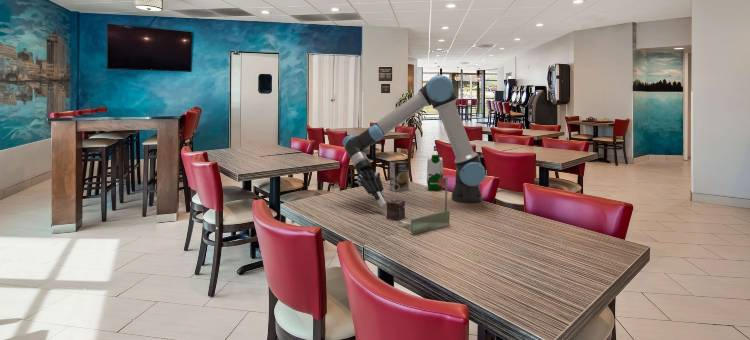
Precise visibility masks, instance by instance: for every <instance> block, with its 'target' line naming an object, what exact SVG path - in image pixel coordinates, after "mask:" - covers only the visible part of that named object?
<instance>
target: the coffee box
mask: <svg viewBox="0 0 750 340" xmlns="http://www.w3.org/2000/svg"><path fill="white" fill-rule="evenodd" d="M409 179H410V162H409V161H405V160H399V161H390V162H389V190H390V191H392V192H395V193H396V192H397V193H398V192H404V191H405V192H406V191H409V189H410V187H409V184H410V183H409V181H410V180H409Z"/></svg>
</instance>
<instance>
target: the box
mask: <svg viewBox="0 0 750 340" xmlns="http://www.w3.org/2000/svg"><path fill="white" fill-rule="evenodd" d="M405 217H406V200H400V199H391V200H388V201H387V202H386V219H390V220H397V221H400V220H402V219H404V218H405Z"/></svg>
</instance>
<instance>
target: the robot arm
mask: <svg viewBox="0 0 750 340" xmlns="http://www.w3.org/2000/svg"><path fill="white" fill-rule="evenodd" d="M417 91H418V92H417V93H416V94H415V95H413V96H412V97H410V98H409V99H408V100H406V101H405V102H403V103H402V104H400V105H399V106H398V107H396V108H394V109H393V110H392V111H391V112H389V113H388V114H386V115H385V116H384V117H382V118H380V119H379V120H378V121H376V122H375V123H374V124H372V125H371V126H369V127H368V128H366V129H365V130H363V131H362V132H361V133H360V134H358V135H355V134H349V135H347V136H345V137H344V138H343V140H342V145H343V147H344V150H345V152H346V153H347V155H348V157H349V159H350V161H351V163H352V165H353V167H354V169H355V171H356V173H357V174H358V175H357V177H356V178H355V179H356V181H358V182H359V183H360V185H361V186H362V187H363V189H364V190H365V191H366V192H367V194H368V195H371V196H372V197H374V199H375V201H376V202H378V205H379V206H380V207H381V208H382V207H384V206H385V205H387V202H386V200H385V198H384V195H383V193H382V192H383V191H384V186H383V183H382V179H381V173H380V172H378V173H377V172H375V170H374V169H373V166H372V164H371V161H370V160H369V158H368V157H367V154H366V152H365V150H367V149H368V148H369V147H371V146H372V145H374V144H376V143H377V142H379V141H380V140H381V139H383V138H384V136H385V135H386V134H388V133H389V132H391V131H392V130H394V129H395V128H397V127H399V126H400V125H401V124H403V123H404V122H405V121H407V120H408V119H410V118H411V117H412V116H414V115H415V114H417V113H418V112H420V111H421V110H423V109H424V108H426V107H430V106H432V109H433V110H435V111H437V112H438V115H439V117H440V120H441V123H442V125H443V128H444V130H445V132H446V136H447V138H448V140H449V141H448V142H449V143H450V146H451V149H452V151H453V154H454V156H455V159H454V162H453V163H454V165H455V185H454V188H453V190H452V193H451V200H453V201H454V202H458V203H466V202H473V203H478V202H477V201H479V202H481V201H482V200H483V199H482V198H483V197H482V196H483V195H482V191H481V187H480V184H482V183H483V182H484V180H485V178H486V169H485V167H484V166H483V164H482V162H481V157H480V155H479V154H478V153H477V152H476V151H474V149H473V146H472V145H471V142H470V139H469V137H468V134H467V132H466V129H465V126H464V124H463V121H462V118H461V115H460V113H459V110H458V108H457V105H456V103H457V100H458V98H457V96H456V93H455V90H454V84H453V82H452V80H451V79H450V78H449V77H448V76H446V75H443V74H441V75H440V74H436V75H434V76H432V77H431V78H430V79H429V80H428V81H427V83H426V84H425V85H423V86H422V87H421V88H420V89H418V90H417Z"/></svg>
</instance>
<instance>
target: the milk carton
mask: <svg viewBox="0 0 750 340" xmlns="http://www.w3.org/2000/svg"><path fill="white" fill-rule="evenodd" d="M426 164H427V165H426V184H427V185H426V186H427V190H428V191H429V192H441V191H442V187H443V185H442V186H438V179H441V178H444V177H443V174H444V160H443V157H440V155H439V154H432V155H431V157H427V163H426Z"/></svg>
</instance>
